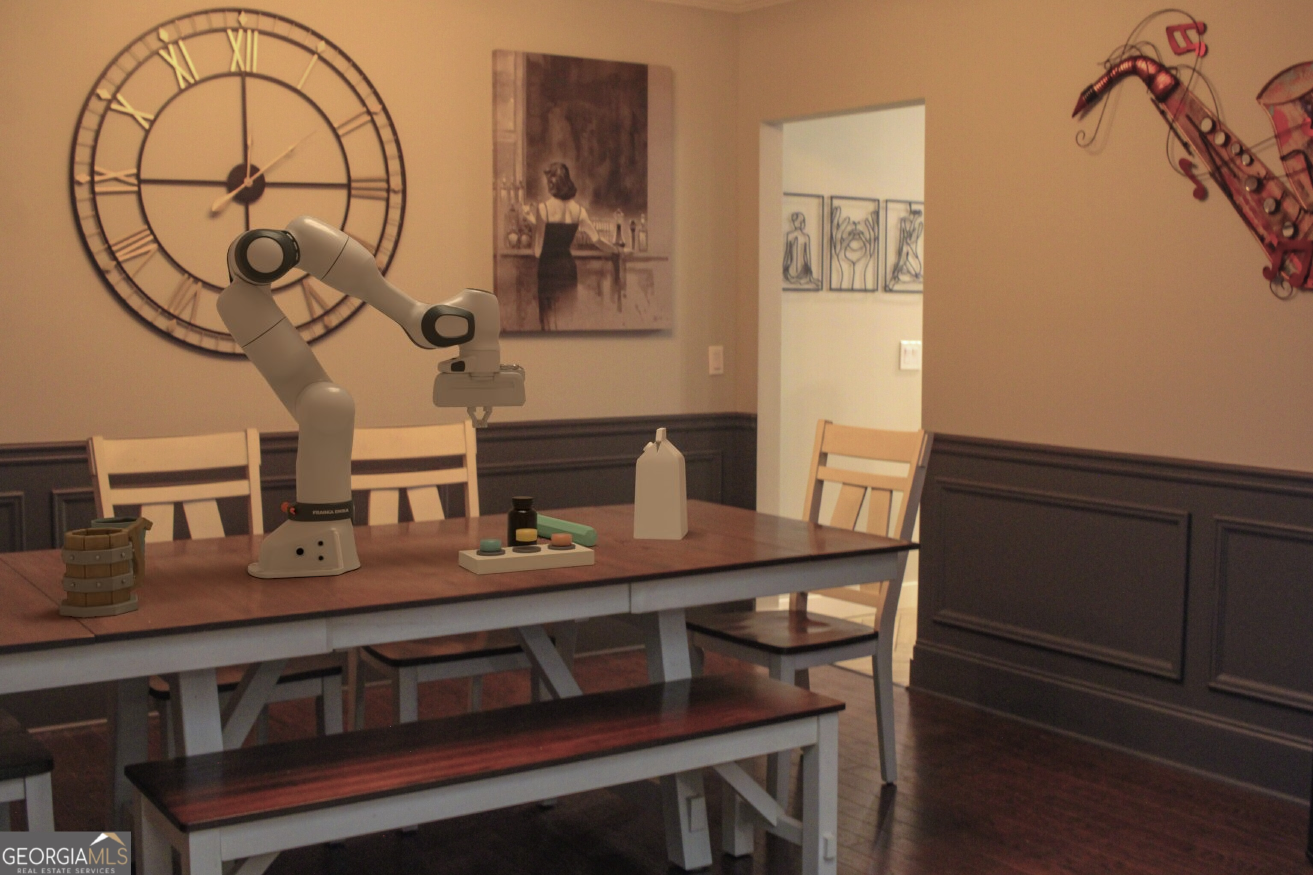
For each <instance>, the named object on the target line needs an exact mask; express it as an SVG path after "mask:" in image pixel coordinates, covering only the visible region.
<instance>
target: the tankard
mask: <svg viewBox="0 0 1313 875" xmlns="http://www.w3.org/2000/svg"><path fill="white" fill-rule="evenodd" d="M139 517H140V518H138V519H137V520H136V521H135V522H134V523H133V524H131V525H130V526H128V527H127V528H126V529H125V528H112V527H110V528H108V527H106V528H92V527H89V528H81V529H75V530H69V531H66V532H65V535H64V543H65V544H64V545H63V546H62V548H61V552H60V557H61V559H62V560H61V562H62V564H65V572H64V573H63V576H62V579H61V581H60V582H61V584H62V589H63V590H62V591H63V592H66V598H64V599H61V600H60V601H59V602H60V603H59V615H60V616H61V617H62V616H63V617H69V616H72V617H71V618H78V617H82V619H86V618H85V617H91V618H96V617H95V616H104V617H116V616H120V615H123V614H126V613H131V612H134V611H138V609H139V597H138V595H137V594H134V593H133V594H132V593H131V592H132V591H134V590H136V589H139V588H140V587H141V586H142V583H143V579H144V578H145V575H146V561H145V558H144V557H143V554H142V551H141V548H140V540H139V532H140V531H141V530H142V529H144V530H146V531H149V532H150V531H151V530H152V528H153V525H154V522H153V521H151V520H150V519H148V518H146V517H143V516H139ZM130 559H131V560H132V563H133V569H132V568H129V560H130ZM119 614H120V615H119Z"/></svg>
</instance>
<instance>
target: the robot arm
mask: <svg viewBox="0 0 1313 875" xmlns="http://www.w3.org/2000/svg"><path fill="white" fill-rule="evenodd" d="M226 252H227V253H226V265H227V272H228V277H229V279H228V280H229V283H230V284H229V285H228V286H226V287H225V288H224V289H223V290H222V291H221V292H220V293H219V295H218V297H217V299H216V304H215V308H216V311H217V313H218V315H219V317H220V318H221V321H222V322H223V324H224V326H225V328H226V329H227V331H228V332H229V334H230V335H231V337H232V338H233V340H234V341H235V343H236V344H237V345H238V347H239V348H240V349H241V350H242V351H243V353H244V354H245V355H246V357H247V358H248V359H249V360H250V362H251V363H252V365H253V366H254V367H255V368H256V370H258V372H259V374H260V375H261V376H262V377H263V378H264V379H265V381H266V382H267V384H268V385H269V387H270V389H272V391H273V392H274V393H275V394H274V395H275V396H277V398H278V399H279V401H280V402H281V404H282V405H283V406H284V408H285V409H286V410H287V412H288V413H289V414H290V416H291V417H292V418H293V419H294V421H295V422H296V423H297V424H298V439H297V440H298V441H297V442H298V444H297V454H296V462H295V480H296V483H295V486H296V500H295V501H293V502H292V503H290V502H287V501H285V502H283V503H282V504H281V507H280V509H281V510H282V512H284V513H286V519H287V520H285V522H282V524H281V525H279V526H278V527H277V528H276V529H275V530H273V531H272V532H270V534H268V535H267V536H266V537H264V539H263V540H262V542H261V545H260V546H259V548H260V549H259V552H258V562H252V563H250V564H249V565H248V566H247V573H248V574H249V575H251V576H253V577H256V578H261V579H274V578H276V579H277V578H278V579H279V578H280V579H282V578H295V577H296V578H298V577H319V576H321V577H323V576H337V575H341V574H343V573H346V572H349V571H354V570H356V569H359V568H360V567H361V565H362V564H361V563H360V559H359V556H358V551H357V547H356V541H355V536H354V534H355V533H354V525H355V504H354V499H352V456H353V454H352V452H353V445H354V435H355V420H356V418H355V415H356V404H355V400H354V398H353V396H352V394H351V393H350V391H349V390H347V389H346V388H345V387H344V386H343V385H341V384H339V383H336V382H334V381H333V379H331V377H330V376H329V374H328V373H327V372H326V370H325V369H324V367H323V366H322V365H321V363H320V361H319V360H318V358H317V357H316V355H315V354H314V353H315V352H313V350H312V348H311V346H310V345H309V344H308V343H307V341H306V340H305V338H304V337H303V336H302V334H300V332H299V331H298V329H297V328H296V326H294V325H293V323H292V321H291V320H290V319H289V317H288V316H287V315H286V314H285V313H284V312H283V310H282V308H280V306H278V304H277V303H276V301H275V299H274V297H273V294H272V284H273V283H274V282H276V281H278V280H280V279H281V278H283V277H284V276H285V275H287V273H288V272H290V271H291V270H293V269H298V270H301V271H303V272H305V273H307V274H309V275H311V276H312V277H313V278H315V279H316V280H318V281H319V282H322V283H323V284H324V285H326V286H328V287H330V288H332V289H333V290H336V291H337V292H340V293H342V294H345V295H346V296H347V295H348V296H350V297H352V298H354V299H357V300H360V301H363V302H365V303H366V304H368V305H370V306H372V307H373V308H375V309H376V310H377V311H379V312H381V313H382V314H383V315H385V316H386V317H387V318H390V319H391V320H393V321H394V322H396V323H397V324H398V325H399V326H400V327H401V329H402V330H403V331H404V333H405V334H406V336H407V337H408V339H409V340H410V341H411V342H412V344H413V345H415V346H417V347H418V348H419V349H423V350H427V351H430V350H437V349H448V348H449V349H450V348H451V347H455V346H458V348H459V349H458V353H459V354H458V356H455V357H452V358H448V359H445V360H442V361H440V362H438V363H437V371H438V372H439V373H437V375H436V376H435V378H434V382H433V386H432V403H433V404H434V406H435V407H436V408H466V412H467V414H468V416H469V418H470V420H471V428H473V429H486V428H488V420H489V419H490V417H491V416H492V413H493V407H499V408H500V407H522V406H524V404H525V403H526V401H527V400H526V389H525V388H526V387H525V380H526V371H525V369H524V368H523V367H522V366H520V365H519V364H517V363H514V364H509V363H508V364H507V363H506V364H505V363H501V347H500V342H499V336H500V333H501V313H500V305H499V300H498V297H497V296H496V295H495V294H494V293H493V292H491V291H488V290H484V289H480V288H470V287H469V288H468V287H466V288H463V290H461V291H460V292H459V293H457V294H456V295H453V296H451V297H449V298H447V299H445V300H443V301H439V302H437V303H427V302H422V301H419V300H416V299H414V298H412V297H411V296H410V295H409V294H407V293H405V292H404V291H403V290H401V289H399V288H398V287H397V286H395V285H393V284H392V283H391V282H389V281H388V280H387V279H386V278H385V277H384V276H383V275H382V273H381V272H380V270H379V268H378V263H377V260H376V257H375V256H374V255H373V254H372V252H370V251H369V250H368V249H367V248H366V247H365V246H364V245H362V243H360V242H359V241H358V240H356V239H354V238H353V237H351V236H350V235H349V234H347V233H345V232H343V231H342V230H340V229H339V228H337V227H335V226H334V225H331V224H329V223H327V222H325V221H322V220H321V219H318V218H315V217H314V216H310V215H307V214H303V215H300V216H297V217H295V218H293V219H292V220H291V221H289V222H288V224H287V225H286V226H285V228H284V229H283V230H282V229H272V228H255V229H250V230H249V229H248V230H246V231H243V232H242V233H240V234H239V235H238V236H236V237H235V238H234V240H233V241H232V242H231V243H230V244H229V247H228V249H227V251H226ZM477 408H483V409H482V411H483V412H484V414H483V417H482V418H481V419H479V418H477V417H476V415H475V414H476V412H477Z"/></svg>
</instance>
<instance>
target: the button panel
mask: <svg viewBox="0 0 1313 875" xmlns="http://www.w3.org/2000/svg"><path fill="white" fill-rule="evenodd" d="M591 565H593V566H594V565H595V550H594V549H591V548H589V547H583V546H581V545H578V544H575V543H573V542H572V545H568V546H554V545H551V543H544V544H537V545H530V546H517V547H507V546H506V547H501V550H500V551H495V552H485V551H480V548H479V549H471V550H470V549H468V550H459V551H458V566H460V567H462V568H463V569H466V570H468V571H469V572H471V573H474V574H475V575H478V576H479V575H488V574H489V575H490V574H501V573H513V572H523V571H537V570H547V569H548V570H549V569H557V568H558V569H559V568H560V569H561V568H568V567H569V568H571V567H579V566H580V567H581V566H591Z"/></svg>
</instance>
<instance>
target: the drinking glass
mask: <svg viewBox="0 0 1313 875" xmlns="http://www.w3.org/2000/svg"><path fill="white" fill-rule="evenodd" d="M140 517H141V516H113V517H101V518H96V519H92V520H91V521H90V524H91V525H90V526H91V528H106V527H108V528H110V527H112V528H125V529H126V528H127V527H128V526H130V525H131V524H133V523H134V522H135V521H136V520H137V519H138V518H140ZM146 532H147V530H144V529H142V530H141V531H140V532H139V540H140V548H141V551H142V554H143V557H144V559H146V557H145V553H146V535H147V533H146ZM129 568H132V569H133V563H132V560H131V559H130V560H129Z"/></svg>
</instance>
